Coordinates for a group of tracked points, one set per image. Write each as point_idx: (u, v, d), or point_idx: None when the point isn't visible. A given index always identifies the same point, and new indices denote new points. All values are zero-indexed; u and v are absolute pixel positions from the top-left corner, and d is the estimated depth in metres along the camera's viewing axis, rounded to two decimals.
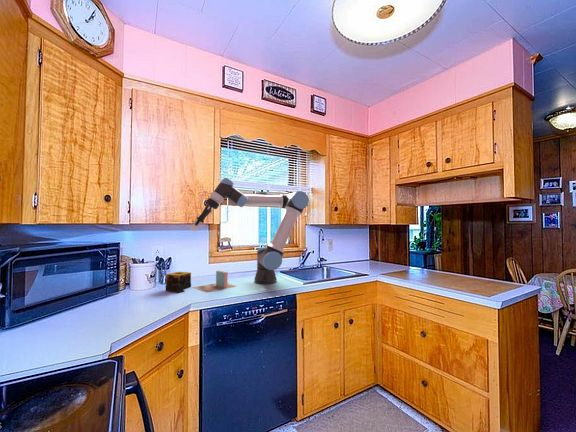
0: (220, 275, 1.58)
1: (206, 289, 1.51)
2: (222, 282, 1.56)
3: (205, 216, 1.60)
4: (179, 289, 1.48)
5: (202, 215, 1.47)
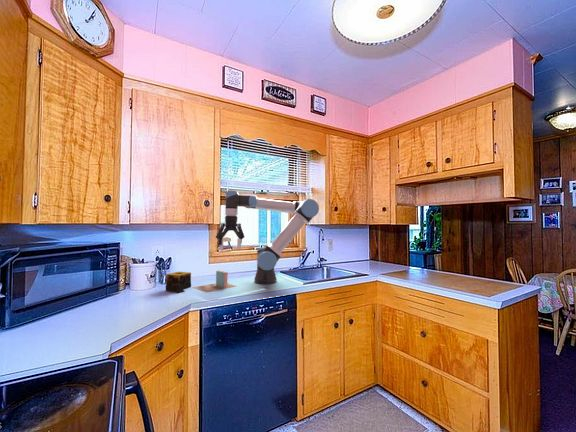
0: (220, 275, 1.58)
1: (206, 289, 1.51)
2: (222, 282, 1.56)
3: (236, 232, 1.67)
4: (179, 289, 1.48)
5: (218, 234, 1.58)
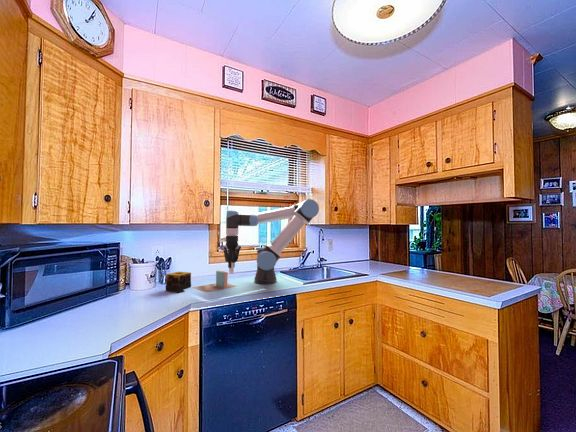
0: (220, 275, 1.58)
1: (206, 289, 1.51)
2: (222, 282, 1.56)
3: (233, 253, 1.64)
4: (179, 289, 1.48)
5: (225, 258, 1.62)
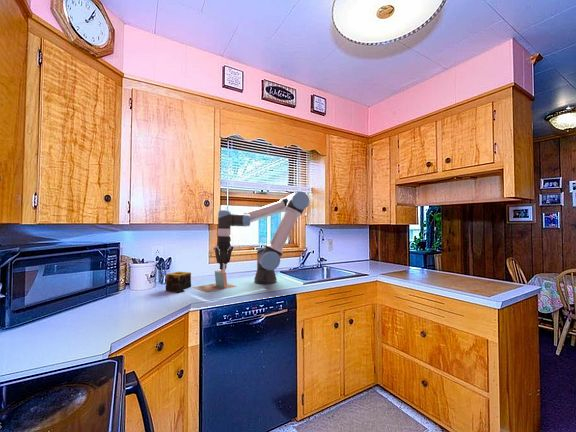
0: (219, 275, 1.57)
1: (206, 289, 1.51)
2: (221, 282, 1.56)
3: (225, 254, 1.60)
4: (179, 289, 1.48)
5: (217, 259, 1.57)
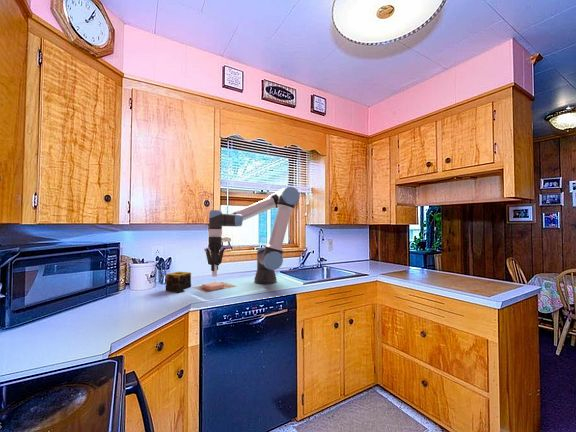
0: None
1: (206, 289, 1.51)
2: None
3: (216, 255, 1.56)
4: (179, 289, 1.48)
5: (208, 260, 1.53)
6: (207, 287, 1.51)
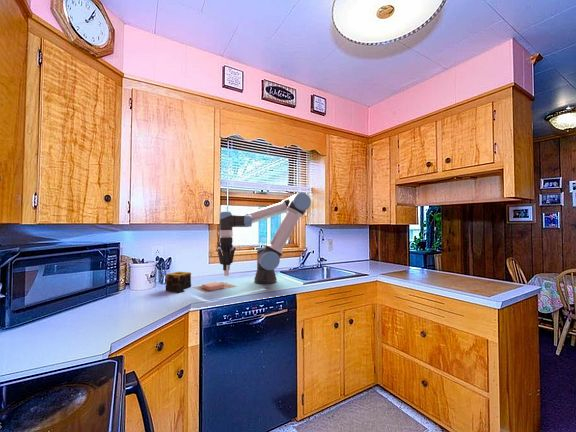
0: None
1: (206, 289, 1.51)
2: None
3: (228, 255, 1.61)
4: (179, 289, 1.48)
5: (220, 260, 1.58)
6: (207, 287, 1.51)
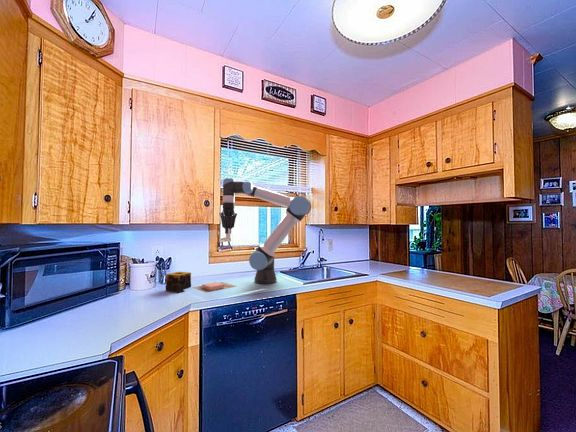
0: None
1: (206, 289, 1.51)
2: None
3: (230, 219, 1.72)
4: (179, 289, 1.48)
5: (222, 223, 1.68)
6: (207, 287, 1.51)
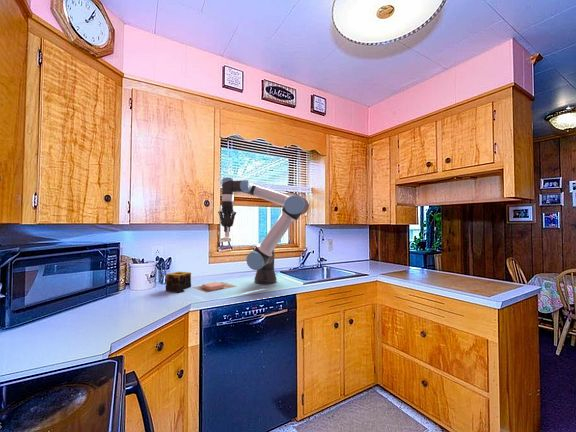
0: None
1: (206, 289, 1.51)
2: None
3: (229, 218, 1.74)
4: (179, 289, 1.48)
5: (221, 222, 1.71)
6: (207, 287, 1.51)
